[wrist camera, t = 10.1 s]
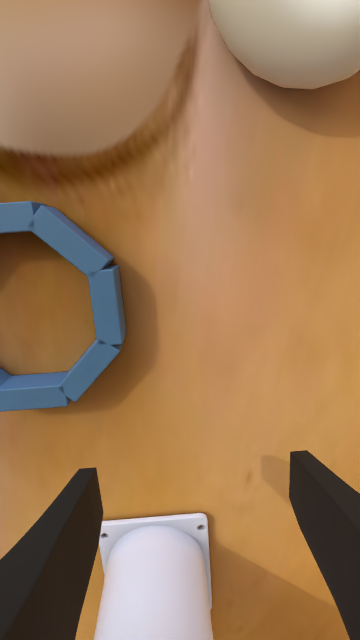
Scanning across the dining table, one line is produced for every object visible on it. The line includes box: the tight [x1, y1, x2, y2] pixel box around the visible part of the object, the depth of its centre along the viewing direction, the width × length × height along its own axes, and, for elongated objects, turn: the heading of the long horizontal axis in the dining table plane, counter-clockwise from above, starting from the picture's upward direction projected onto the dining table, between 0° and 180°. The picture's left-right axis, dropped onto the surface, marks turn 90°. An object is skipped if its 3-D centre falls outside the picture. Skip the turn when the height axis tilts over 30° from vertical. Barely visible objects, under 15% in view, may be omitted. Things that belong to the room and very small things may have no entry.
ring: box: [0, 201, 126, 412], centre depth 19 cm, size 11×11×2 cm
